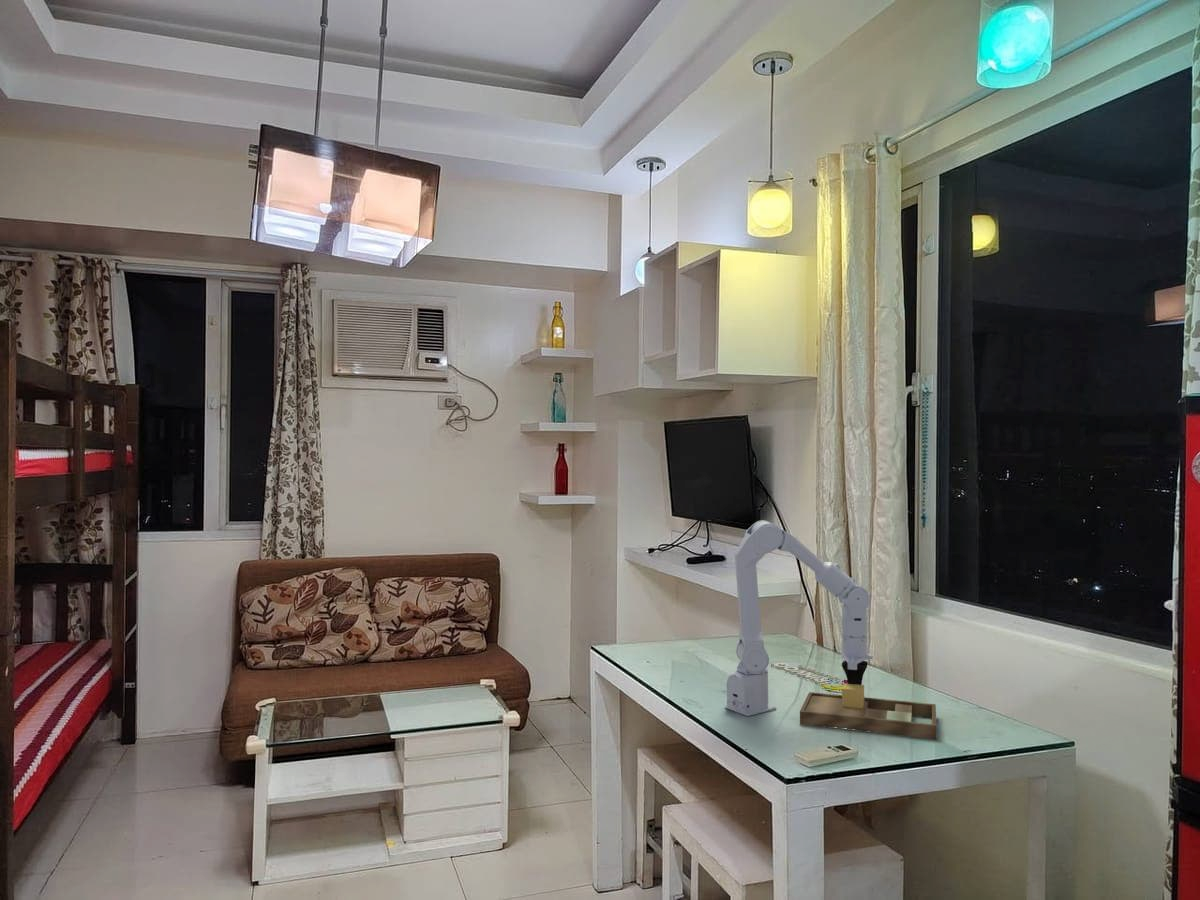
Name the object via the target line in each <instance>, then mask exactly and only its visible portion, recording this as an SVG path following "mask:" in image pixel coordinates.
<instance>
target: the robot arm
mask: <svg viewBox="0 0 1200 900" xmlns="http://www.w3.org/2000/svg"><path fill="white" fill-rule="evenodd" d="M775 550H778V551H780V552H785V553H790V554H791V555H792V556H794V557H795V558H796V559H797V560H799V561H800V562H801V563H803V564H804V565H805V566H806V567H808V568H809V569H810V570H811V571H812V572H813V573H814V579H815V581H816V582H817V583H818V584H819V585H820V586H822V587H823V588H824V589H825V590H826V591H828V592H829V593H830V594H831V595H833V596H834V597H836V598H838V601H839V603H841V653H840V656H841V658H842V659H843V661H842V662H841V667H842V669H843V671H844V673H845V677H846V680H847V681H848V684H856V685H863V677H864V674H865V672H866V670H867V668H868V664H869V662H868V661H867V660H873V657H874V655H873V654H872V653H871V654H869V653H868V614H867V612H868V610H867V609H868V608H869V606H870V604H871V599H872V598H870V595H869V592H868V590H867V589H865V588H864V587H863V586H861V585H859V584H858V582H857V579H856V578H854V577H850V576H849V575H848V574H847V573H845V572H844V571H843V570H842V569H841V568H842V566H841V565H840V564H839V563H837V562H835V563H834V562H832V561H823V560H821V559H820V558H819V557H818V556H816V554H815V553H813V551H811V550H810V549H809V548H807V546H805V545H804V544H803V543H802V542H801V541H800V540H799V539H797V537H795V536H794V535H792V534H790V533H789V532H787V531H786V530H784V529H782V528H780V526H778V525H777V524H774V523H772V522H770V521H768V520H762V519H761V520H758V521H756V522H754V523H753V524H751V526H750V527H749V528H748V529H746V531H745V534H744V536H743V539H742V540H741V542H740V544H739V546H738V548H737V550H736V551H735V554H734V561H735V576H736V588H737V589H736V591H737V592H736V593H737V602H738V613H739V614H738V615H739V616H738V618H739V633H738V638H739V639H738V644H737V646H736V649H735V651H736V656H737V658H738V660H739V661H740V662H739V663H738V665H737V666H736V671H734V673H733V674H730V675H729V676H728V677H727V680H726V704H725V705H724V708H725V709H728V710H730V711H731V712H735V713H739V714H741V715H743V716H745V717H746V716H747V717H750V716H754V715H757V714H760V713H761V714H762V713H764V712H769V711H773V710H776V709H777V706H776V705H772V704H769V668H768V665H769V662H770V657H769V653H768V652H767V651H766V649H765V645H764V644H765V643H764V638H763V633H762V627H761V626H762V625H761V615H760V613H761V612H760V600H759V586H758V575H757V574H758V573H757V564H758V563H759V561H760V560H762V558H764V556H765V555H767V554H769V553H771V552H774V551H775Z"/></svg>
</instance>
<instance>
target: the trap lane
mask: <svg viewBox="0 0 1200 900" xmlns="http://www.w3.org/2000/svg"><path fill="white" fill-rule="evenodd" d="M912 715H914V716H912ZM920 716H922V717H923V718H930V717H931V723H925V722H918V721H917V722H915V721H913V717H920ZM801 724H802V725H801ZM799 725H801V726H803V725H804V726H810V725H815V726H814V727H819V726H825V727H824V728H828V727H837V728H847V729H855V730H862V731H861V732H864V731H870V732H869V733H873V732H878V733H877V734H882V733H885V734H884V735H891V734H892V735H894V736H900V735H902V737H909V736H911V738H918V737H919V739H920V738H921V739H927V738H930V739H929V740H936V739H937V707H936V703H926V702H916V701H906V700H896V699H885V698H875V697H865V696H864V706H863V708H854V707H845V706H842V694H835V693H823V692H822V693H821V692H812V691H808V694H807V696H806V698H805V700H804V702H803V704H802V706H801V708H800V710H799ZM837 728H836V729H837ZM855 730H854V731H855ZM937 740H938V739H937Z"/></svg>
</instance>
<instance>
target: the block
mask: <svg viewBox="0 0 1200 900" xmlns="http://www.w3.org/2000/svg"><path fill="white" fill-rule="evenodd" d="M842 686H843V687H842V693H841V695H842V706H845V707H854V708H863V706H864V697H865V685H864V684H862V685H856V684H845V683H844V684H842Z"/></svg>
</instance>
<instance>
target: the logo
mask: <svg viewBox="0 0 1200 900" xmlns="http://www.w3.org/2000/svg"><path fill="white" fill-rule="evenodd" d="M770 667H772V668H775V669H776V668H777V669H776V670H781V669H784V671H785V672H784V673H787V672H789V673H788V674H790V675H792V674H796V675H797V676H800V677H805V678H804V680H805V679H809V680H810V681H812V680H814V681H812V682H813V683H814V682H816V683H819V684H820V683H825V682H830V683H831V681H830V680H828V679H825V678H823V677H820V676H824V677H828V678H829V679H832V680H833V679H835V681H837V680H839V681H840V678H839V677H838V676H834V675H831V674H827V673H825V672H822V671H819V670H817V669H813V668H810V667H808V666H806V665H803V664H798V665H797V667H796V666H790V665H789V664H788V663H785V662H778V663H775V664H774V663H770ZM799 669H803V670H804V671H803V670H799ZM805 670H806V671H807V672H811V673H807V672H806V671H805ZM812 673H814V674H817V675H814V674H812ZM818 675H820V676H819V677H818ZM797 676H796V677H797ZM800 677H799V678H800ZM831 677H832V678H831ZM809 680H808V681H809ZM810 681H809V682H810ZM835 681H834V682H835ZM842 682H844V683H845V684H848V681H847V679H843V680H842V681H841V683H842ZM816 683H815V684H816ZM821 686H822V687H824V688H825V689H831V690H839V691H840V690H841V691H842V687H843V685H839V686H838V685H835V686H834V685H830V686H829V685H827V684H821V685H820V687H821Z"/></svg>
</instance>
